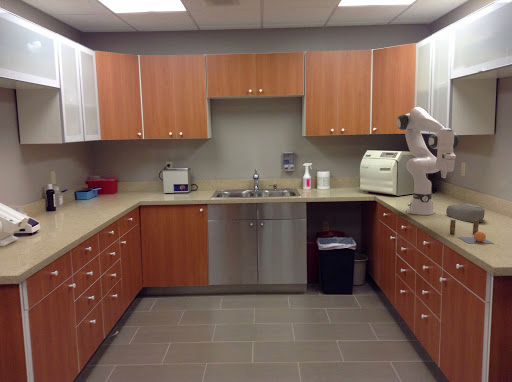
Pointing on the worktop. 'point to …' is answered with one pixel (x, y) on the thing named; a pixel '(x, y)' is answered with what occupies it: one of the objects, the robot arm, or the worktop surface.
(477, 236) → the ball
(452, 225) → the post
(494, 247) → the worktop surface
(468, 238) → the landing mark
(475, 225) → the post
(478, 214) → the stone
